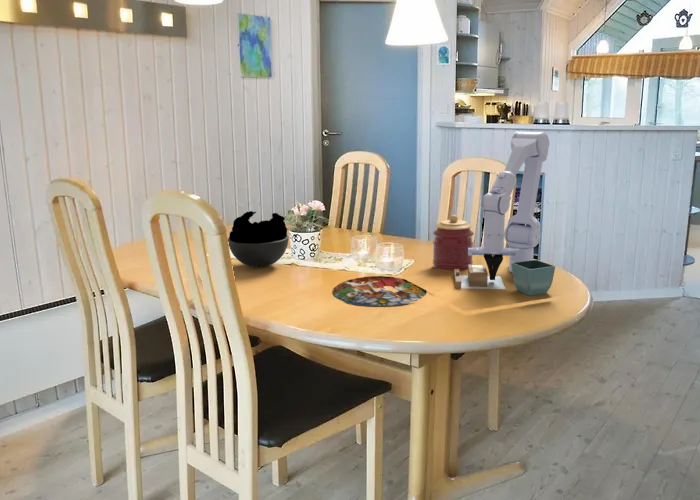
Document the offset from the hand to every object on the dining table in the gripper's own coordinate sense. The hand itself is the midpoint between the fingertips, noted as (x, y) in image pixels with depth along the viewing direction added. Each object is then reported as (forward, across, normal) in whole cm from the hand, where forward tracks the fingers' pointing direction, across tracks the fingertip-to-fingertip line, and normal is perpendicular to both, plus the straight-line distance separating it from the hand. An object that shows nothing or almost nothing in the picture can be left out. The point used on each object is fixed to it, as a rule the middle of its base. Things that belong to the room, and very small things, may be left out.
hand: (492, 279), depth 193 cm
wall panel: (+2, -4, 0) cm, 4 cm away
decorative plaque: (+3, -33, -8) cm, 34 cm away
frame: (+1, -4, 0) cm, 4 cm away
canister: (+2, -11, +20) cm, 23 cm away
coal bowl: (+2, -75, +17) cm, 77 cm away
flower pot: (+2, +10, -9) cm, 14 cm away
